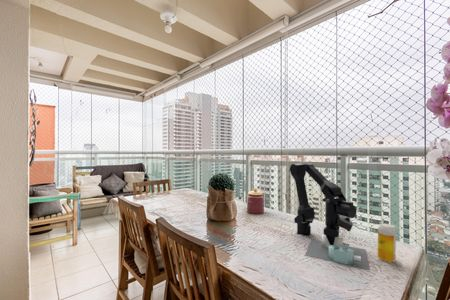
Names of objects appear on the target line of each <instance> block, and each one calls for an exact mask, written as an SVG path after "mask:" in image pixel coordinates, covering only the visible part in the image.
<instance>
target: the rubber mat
mask: <svg viewBox="0 0 450 300" xmlns="http://www.w3.org/2000/svg"><path fill="white" fill-rule="evenodd" d="M343 247H346V248H350V249H352V250H354V255H356V256H361V261H359V260H354V264H353V265H348V264H344V263H339V262H335V261H332V260H330V259H329V247H324V246H322V240H318V239H310V241H309V244H308V246H307V249H306V252H305V255H304V256H305V257H308V258H309V257H310V258H314V259H319V260H322V261H327V262H331V263H336V264H340V265H344V266H349V267H354V268H357V269H362V270H366V271H371V268H370V264H369V258H368V253H367V249H364V248H361V247H355V246H351V245H349V246H346V245H343Z"/></svg>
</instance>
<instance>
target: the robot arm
mask: <svg viewBox="0 0 450 300" xmlns="http://www.w3.org/2000/svg"><path fill="white" fill-rule="evenodd" d="M289 172H290V175H291V177H292V178H293V180H294V182H295V187H296V193H297V198H298V199H297V200H298V203H299V206H298V209H297V215H296V216H295V217H294V218H293V221H294V223H295V224H296V226H297V227H296V229H297V230H296V231H297V232H296V234H297V235H301V236H306V237H308V236H309V237H310V235H311V234H312V226H311V225H310V224H312V223H314V219H315V216H316V213H315V208H314V207H312V206H311V205H310V204H309V198H308V192H307V187H306V183H305V176H306V174H308V175H309V176H310V177H311V178H312V180H313V181H314V182H315V183H316V184H317V185H318V186H319V187H320V191H321V193H322V194H323V196H324V198H322V199H321V201H322V202H325V223H324V224H325V226H324V228H323V233H324V235H326V237H327V239H328V241H329V244H330V245H334V241H335V237H339V236H340V228H342V229H344V230H345V231H347V232H351V231H352V228H353V226H354V224H353V222H352V221H351V219H353V218H355V217H356V215H357V210H358V209H357V208H356V206H355V205H354V202H352V201H348V200H347V198H346V197H345V195H344V193H343V192H342V188H341V187H340V186H338V185H337V184H336V183H334V182H332V181H329V180H328V179H327V178H326V177H325V176H324V175H323V174H322V173H321V172H320V171H319V170H318V169H317V168H316V167H315V165H314V164H313V163H304V164H303V163H292V164H291V165H290V166H289ZM341 216H343V217H341Z"/></svg>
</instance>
